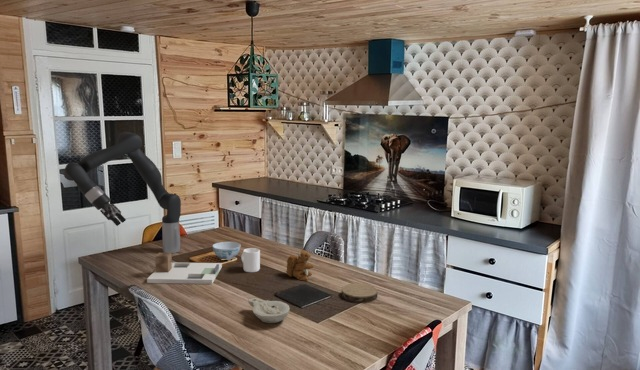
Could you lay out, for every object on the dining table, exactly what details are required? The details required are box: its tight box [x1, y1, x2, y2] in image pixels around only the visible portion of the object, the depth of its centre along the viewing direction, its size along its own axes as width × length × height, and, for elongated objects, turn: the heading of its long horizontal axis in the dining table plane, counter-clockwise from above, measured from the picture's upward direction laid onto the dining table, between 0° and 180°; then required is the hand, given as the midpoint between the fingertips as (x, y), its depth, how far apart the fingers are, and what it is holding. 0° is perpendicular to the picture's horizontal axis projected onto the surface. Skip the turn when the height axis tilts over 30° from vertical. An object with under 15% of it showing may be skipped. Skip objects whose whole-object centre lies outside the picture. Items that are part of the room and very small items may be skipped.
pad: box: [201, 268, 220, 279], centre depth 234 cm, size 7×9×2 cm
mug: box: [240, 247, 261, 273], centre depth 244 cm, size 12×8×10 cm
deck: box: [146, 261, 223, 285], centre depth 234 cm, size 30×25×4 cm
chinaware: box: [212, 241, 242, 261], centre depth 259 cm, size 15×15×8 cm
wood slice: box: [341, 282, 379, 304], centre depth 212 cm, size 16×16×3 cm
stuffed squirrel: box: [285, 249, 314, 282], centre depth 234 cm, size 10×14×13 cm
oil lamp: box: [248, 297, 290, 324], centre depth 187 cm, size 21×14×5 cm
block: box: [154, 252, 173, 272], centre depth 233 cm, size 6×6×8 cm
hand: (121, 223), depth 229 cm, fingers open, 8 cm apart
